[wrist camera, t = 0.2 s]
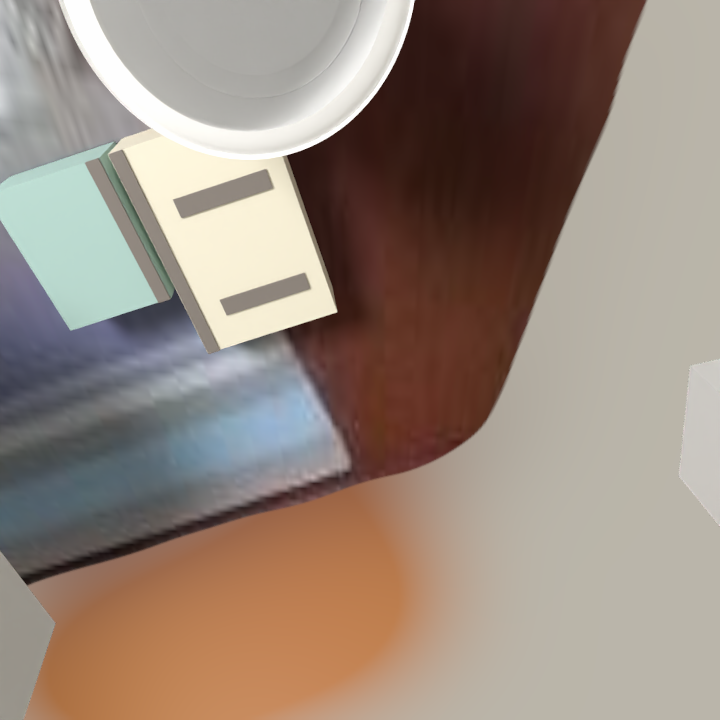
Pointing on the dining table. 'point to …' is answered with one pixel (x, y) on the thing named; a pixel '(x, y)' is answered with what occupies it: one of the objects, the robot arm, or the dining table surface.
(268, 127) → the jar
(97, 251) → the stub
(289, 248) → the cream slotted block
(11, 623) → the robot arm
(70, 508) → the dining table surface
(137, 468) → the dining table surface
